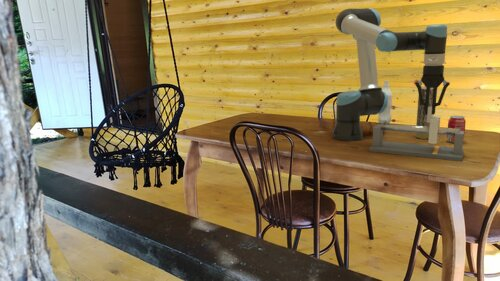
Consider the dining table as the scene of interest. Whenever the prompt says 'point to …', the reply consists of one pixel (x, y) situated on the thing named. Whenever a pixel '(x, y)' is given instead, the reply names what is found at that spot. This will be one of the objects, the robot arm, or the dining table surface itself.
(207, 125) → the dining table surface
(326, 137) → the dining table surface
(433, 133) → the collar
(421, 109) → the wooden log
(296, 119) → the dining table surface
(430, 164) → the dining table surface
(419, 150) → the pipe stand
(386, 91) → the water bottle
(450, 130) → the pipe
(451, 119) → the soda can
